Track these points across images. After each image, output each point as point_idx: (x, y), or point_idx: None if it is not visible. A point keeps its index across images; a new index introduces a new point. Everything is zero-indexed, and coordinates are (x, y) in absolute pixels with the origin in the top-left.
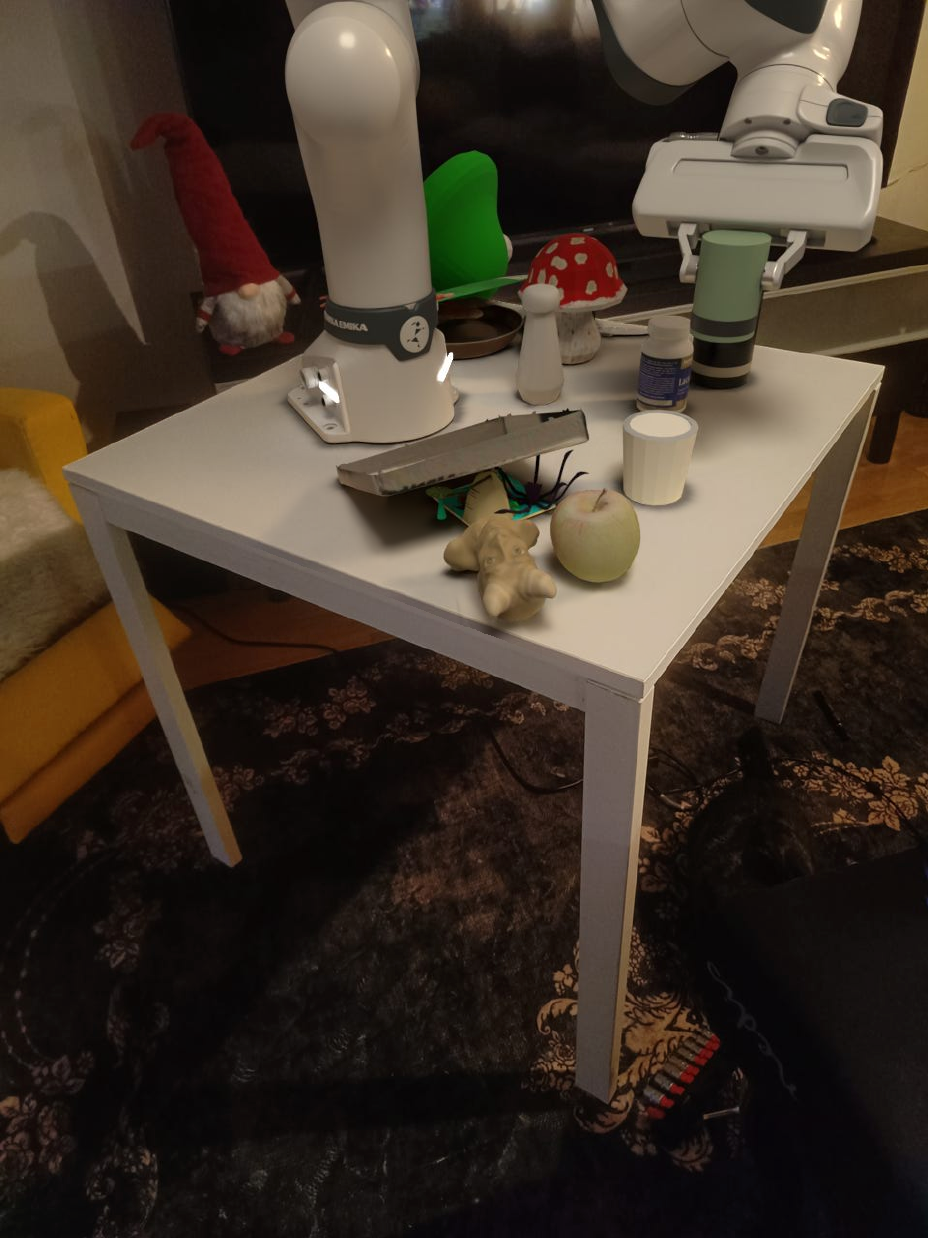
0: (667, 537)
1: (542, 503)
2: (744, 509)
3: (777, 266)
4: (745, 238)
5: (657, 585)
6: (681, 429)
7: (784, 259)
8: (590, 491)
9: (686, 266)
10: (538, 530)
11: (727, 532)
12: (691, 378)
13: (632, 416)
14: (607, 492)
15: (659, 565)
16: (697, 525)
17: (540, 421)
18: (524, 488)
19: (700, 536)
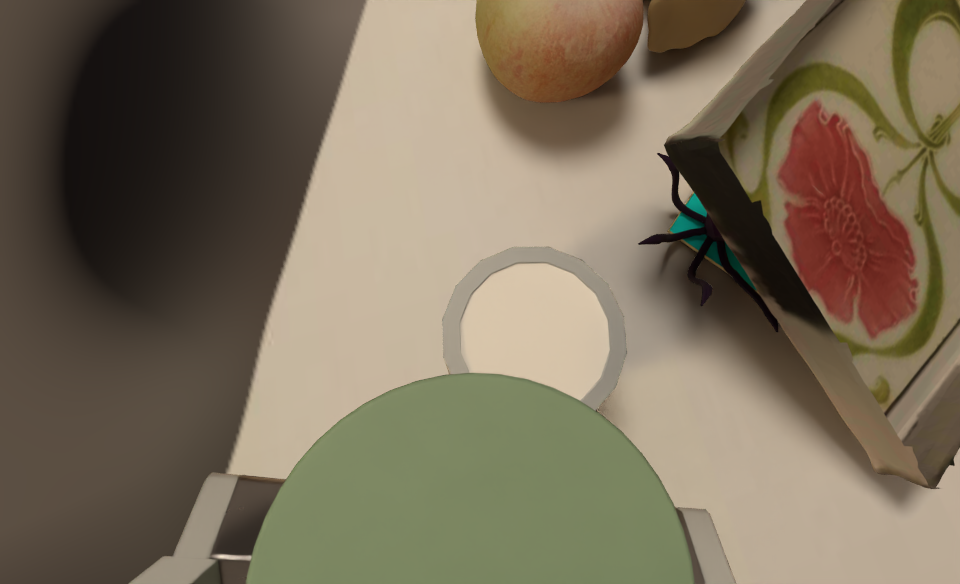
0: (444, 195)
1: (694, 237)
2: (316, 338)
3: (213, 532)
4: (414, 561)
5: (432, 54)
6: (480, 324)
7: (169, 571)
8: (596, 9)
9: (688, 527)
10: (651, 5)
11: (340, 242)
12: None
13: (612, 363)
14: (563, 3)
15: (440, 107)
16: (398, 251)
17: (815, 328)
18: (748, 279)
19: (387, 214)
